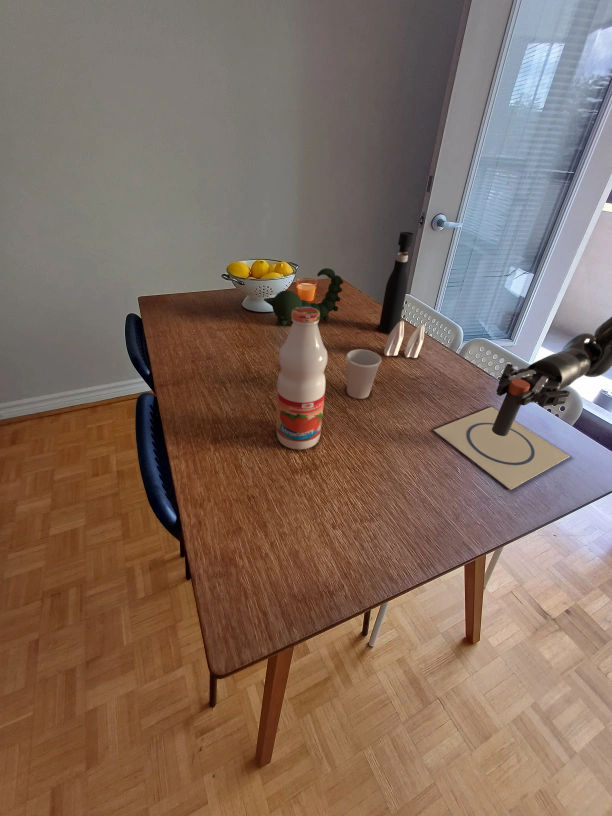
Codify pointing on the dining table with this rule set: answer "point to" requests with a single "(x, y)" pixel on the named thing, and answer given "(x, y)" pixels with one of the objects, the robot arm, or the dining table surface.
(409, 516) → the dining table surface
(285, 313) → the toy figurine
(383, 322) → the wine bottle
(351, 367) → the dixie cup
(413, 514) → the dining table surface
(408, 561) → the dining table surface
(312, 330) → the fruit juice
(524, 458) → the paper
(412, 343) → the shaker set
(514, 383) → the marker
